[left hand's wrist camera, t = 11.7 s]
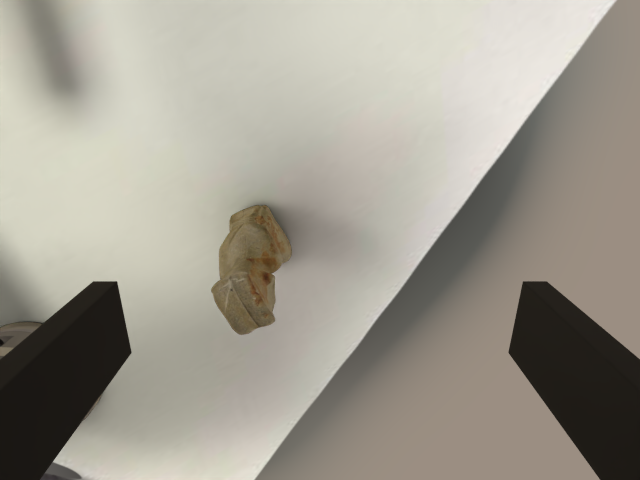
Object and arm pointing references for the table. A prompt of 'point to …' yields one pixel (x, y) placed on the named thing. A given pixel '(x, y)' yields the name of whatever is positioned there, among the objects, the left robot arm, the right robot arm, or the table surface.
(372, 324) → the table surface
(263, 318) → the sculpture
